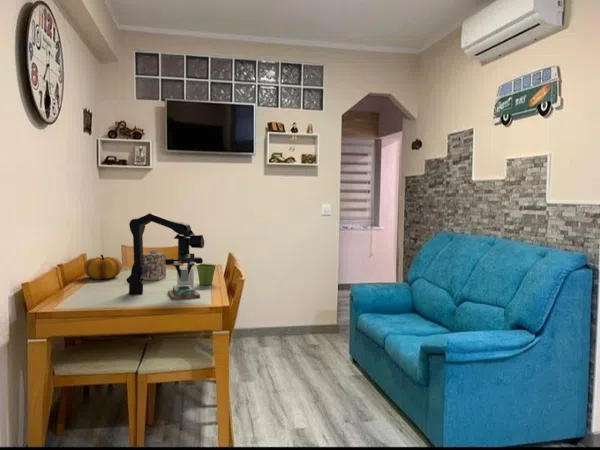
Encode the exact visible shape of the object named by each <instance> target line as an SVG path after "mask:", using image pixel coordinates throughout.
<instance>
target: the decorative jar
mask: <svg viewBox="0 0 600 450" xmlns="http://www.w3.org/2000/svg"><path fill="white" fill-rule="evenodd" d="M165 258H167V256H166V255H165V254H164V253H163V252H159V251H158V249H150V250H149V252H145V253H143V262H144V264H145V265H148V267H147V271H148V273H147V275H146V276H145V277H144V279H143V281H157V280H158V281H161V280H163V279H165V278H166V277H167V265H165V263H164V260H165Z"/></svg>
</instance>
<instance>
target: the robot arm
mask: <svg viewBox="0 0 600 450" xmlns="http://www.w3.org/2000/svg"><path fill="white" fill-rule="evenodd" d="M150 223H155V224H157V225H161V226H163V227H166V228H168V229H170V230H172V231H173V232H175V233H176V235H175V236H174V237H173V239H175V240H177V258H176V259H175V258H173V257H166V258H165V260H164V263H165V265H166V266H170V265H171V266H173V267H175V269H176V273H177V272H178V275H179V278H180V267H181V265H180V264H182V265H183V264H187V265H186V266H187V269H188V275H189V272H190V270H191V268H192V267H193V266H196V265H201V264H204V263H203V262H204V261H203V258H202V257H200V256H195V253H190V248H192V249H203V248H204V247H205V239H204V235H203V234H199V235H197V234H195V233H194V232H193V230H192V227H191V226H190V224H189V223H187V222H186V223H185V222H180V221H174V220H171V219H170V218H166V217H163V216H161V215H158V214H156V213H154V212H149V213H147V214H145V215H143V216H140V217H138V218H132V219H131V220H129V224H128V225H129V230H130V233H131V234H132V241H133V243H132V245H133V264H132V267H131V271H130V275H129V276H128V277H127V278H126V283H127V284H128V295H129V296H130V295H134V296H135V295H143V292H144V284H143V281H144V280H143V279H144V277H145V276H146V275H147V273H148V271H147V267H148V265H145V264H144V262H143V254H144V243H143V241H144V240H143V239H144V238H143V235H144V232H145V230H146V225H148V224H150ZM195 264H196V265H195ZM192 269H193V268H192Z"/></svg>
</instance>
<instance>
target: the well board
mask: <svg viewBox="0 0 600 450" xmlns="http://www.w3.org/2000/svg"><path fill="white" fill-rule="evenodd" d="M167 294H168V296H169V297H170V299H171V301H174V300H176V301H177V300H188V299H189V300H190V299H200V298H201V294H200V293H199V292H198V290H196V289H195V288H194V286H193V287H192V286H191V285H184V286H177V285H173V286H172V290H171V289H170V290H167Z"/></svg>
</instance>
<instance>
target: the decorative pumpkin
mask: <svg viewBox="0 0 600 450" xmlns="http://www.w3.org/2000/svg"><path fill="white" fill-rule="evenodd" d="M82 267H83V273H84V274H85V275H86V276H87V277H88V278H90V279H95V280H97V281H99V280H102V279H103V280H110V279H113V278H116V277H117V276H119V275H120V274H121V272H122V268H123V265H122V262H121V260H119V259H118V258H117V257H111V256H105V257H104V255H103V254H100V256H97V257H91V258H89V259H87V260H85V262H84V263H83V266H82Z"/></svg>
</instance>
